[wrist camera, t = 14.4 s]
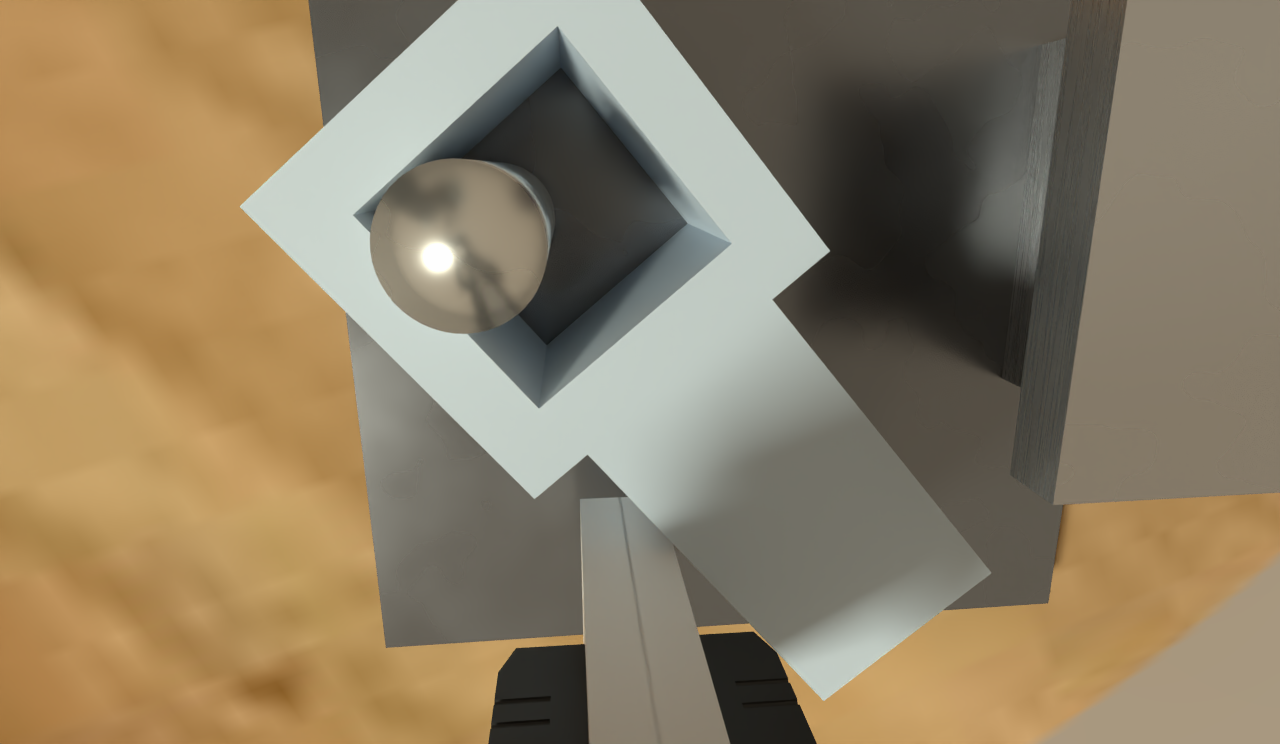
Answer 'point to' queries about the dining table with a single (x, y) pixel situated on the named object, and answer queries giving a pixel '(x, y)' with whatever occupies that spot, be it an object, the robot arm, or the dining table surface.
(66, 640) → the dining table surface
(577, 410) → the link
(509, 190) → the cylinder
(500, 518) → the keeper plate
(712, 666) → the robot arm
